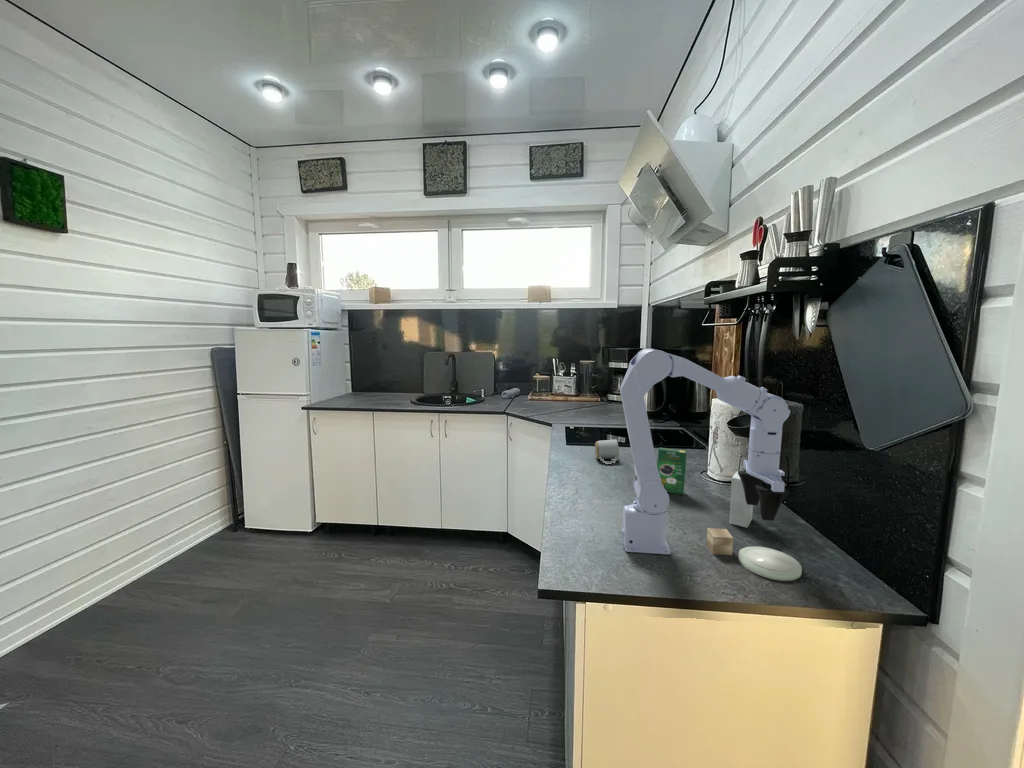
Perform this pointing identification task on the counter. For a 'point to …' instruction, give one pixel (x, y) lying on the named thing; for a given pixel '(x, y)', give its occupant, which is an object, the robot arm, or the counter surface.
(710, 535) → the block
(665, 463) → the coffee box
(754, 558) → the dish
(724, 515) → the counter surface
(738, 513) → the skincare box
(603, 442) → the ceramic mug
